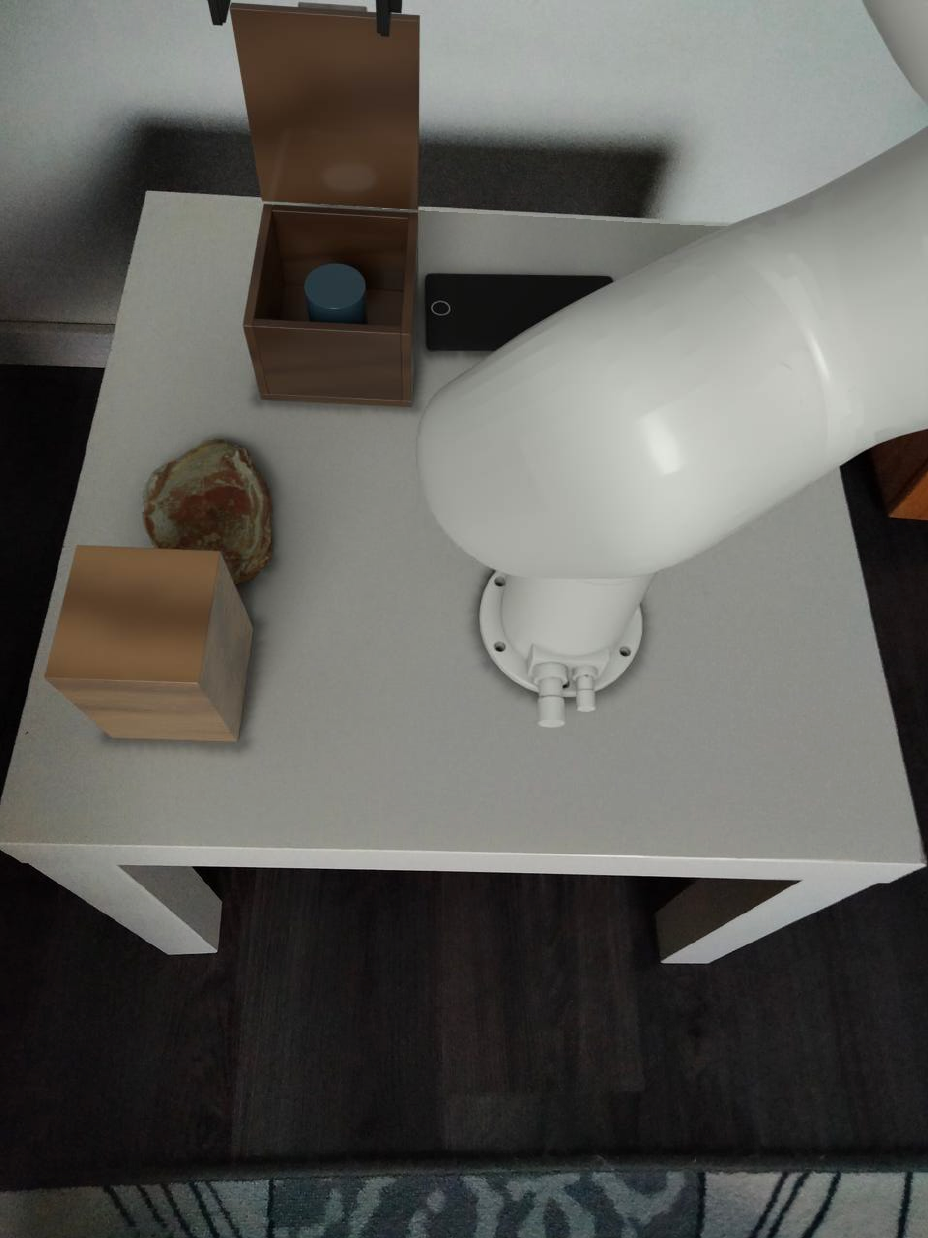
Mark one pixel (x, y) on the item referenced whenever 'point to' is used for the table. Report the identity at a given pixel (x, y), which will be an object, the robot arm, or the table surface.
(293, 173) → the lid
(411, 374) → the wooden box
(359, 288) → the blue glossy cylinder
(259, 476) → the stone
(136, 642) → the stand
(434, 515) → the robot arm
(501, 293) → the cell phone
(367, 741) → the table surface
